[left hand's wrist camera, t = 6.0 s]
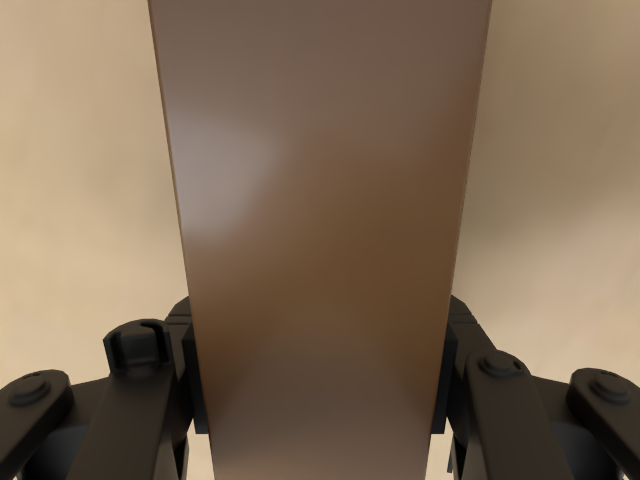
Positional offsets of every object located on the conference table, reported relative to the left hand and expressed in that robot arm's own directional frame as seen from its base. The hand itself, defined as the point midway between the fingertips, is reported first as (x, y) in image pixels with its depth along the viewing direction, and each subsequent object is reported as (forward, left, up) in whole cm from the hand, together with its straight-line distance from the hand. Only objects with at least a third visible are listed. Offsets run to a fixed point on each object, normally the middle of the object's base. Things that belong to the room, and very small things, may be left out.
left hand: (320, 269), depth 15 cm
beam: (+17, -12, -1) cm, 21 cm away
